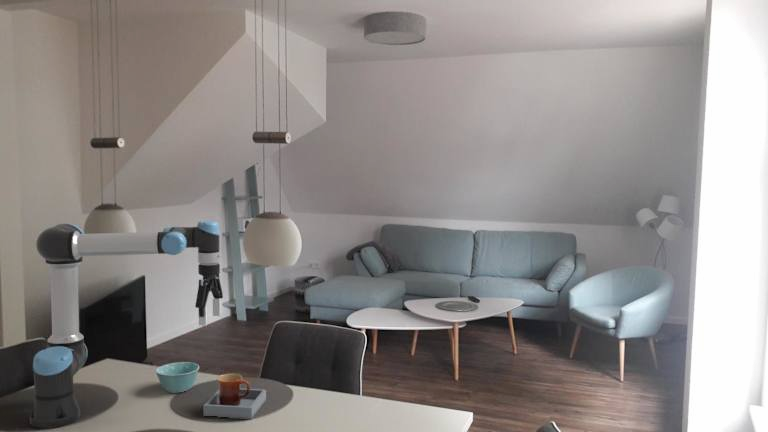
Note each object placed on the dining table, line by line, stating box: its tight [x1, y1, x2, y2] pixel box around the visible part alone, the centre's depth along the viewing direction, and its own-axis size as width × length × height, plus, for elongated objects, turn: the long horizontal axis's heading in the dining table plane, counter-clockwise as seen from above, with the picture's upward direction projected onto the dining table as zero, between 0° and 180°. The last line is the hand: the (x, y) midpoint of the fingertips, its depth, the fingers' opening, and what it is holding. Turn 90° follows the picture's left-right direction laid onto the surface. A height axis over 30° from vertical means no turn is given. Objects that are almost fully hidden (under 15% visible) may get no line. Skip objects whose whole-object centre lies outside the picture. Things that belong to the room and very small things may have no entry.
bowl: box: [155, 361, 200, 394], centre depth 243 cm, size 16×16×8 cm
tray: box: [202, 387, 267, 420], centre depth 226 cm, size 17×17×4 cm
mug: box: [216, 372, 251, 406], centre depth 225 cm, size 12×9×10 cm
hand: (209, 320), depth 235 cm, fingers open, 13 cm apart
